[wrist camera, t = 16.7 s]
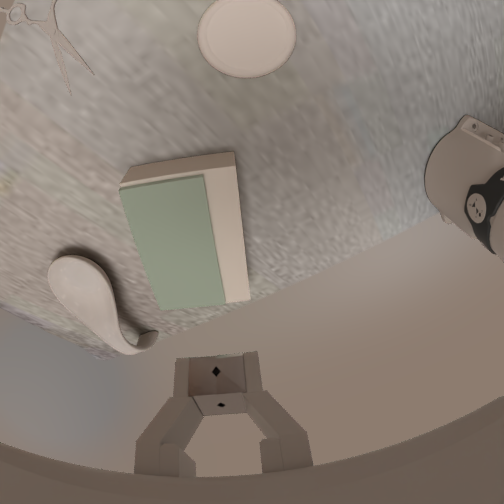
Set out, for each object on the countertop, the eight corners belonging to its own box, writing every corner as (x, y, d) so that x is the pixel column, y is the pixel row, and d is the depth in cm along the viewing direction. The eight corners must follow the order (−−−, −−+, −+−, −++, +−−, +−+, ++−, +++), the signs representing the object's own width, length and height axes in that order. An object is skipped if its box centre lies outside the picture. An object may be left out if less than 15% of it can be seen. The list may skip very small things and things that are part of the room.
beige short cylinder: (203, 80, 30) (201, 83, 27) (196, 1, 24) (193, -5, 21) (292, 74, 30) (299, 77, 27) (288, -4, 24) (295, -10, 21)
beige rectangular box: (233, 151, 35) (235, 165, 31) (247, 276, 47) (250, 300, 43) (130, 167, 35) (119, 183, 31) (166, 285, 47) (162, 308, 43)
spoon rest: (43, 262, 42) (26, 292, 37) (84, 231, 40) (66, 262, 34) (130, 342, 56) (124, 372, 50) (175, 324, 53) (172, 357, 48)
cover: (203, 174, 31) (203, 177, 31) (225, 300, 43) (225, 304, 42) (120, 187, 31) (118, 190, 30) (161, 306, 43) (160, 310, 42)
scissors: (56, -45, 15) (117, 61, 26) (59, -44, 15) (119, 61, 27) (-2, 10, 17) (52, 112, 28) (1, 10, 18) (55, 111, 29)
